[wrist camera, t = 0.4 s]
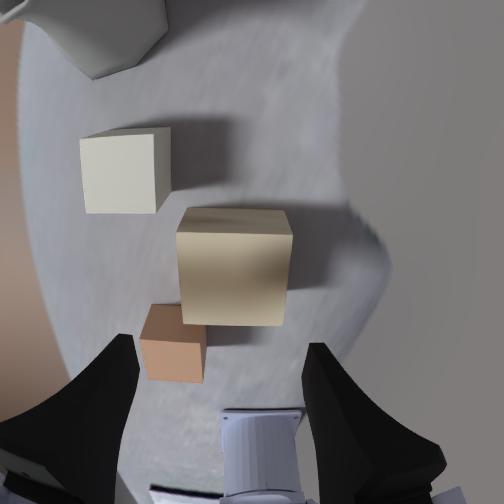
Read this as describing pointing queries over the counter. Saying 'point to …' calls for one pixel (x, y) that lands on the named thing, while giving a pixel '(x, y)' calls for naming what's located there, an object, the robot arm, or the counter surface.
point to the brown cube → (173, 346)
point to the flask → (95, 29)
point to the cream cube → (126, 170)
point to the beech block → (233, 266)
